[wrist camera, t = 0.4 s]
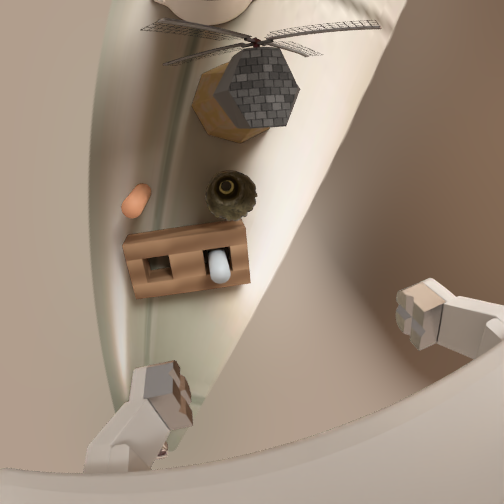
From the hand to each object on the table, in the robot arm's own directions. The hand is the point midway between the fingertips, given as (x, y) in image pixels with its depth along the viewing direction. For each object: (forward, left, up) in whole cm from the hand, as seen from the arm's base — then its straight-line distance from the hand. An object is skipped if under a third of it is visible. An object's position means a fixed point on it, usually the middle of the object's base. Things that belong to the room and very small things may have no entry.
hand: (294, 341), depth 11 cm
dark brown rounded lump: (+4, +2, -45) cm, 45 cm away
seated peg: (+15, -1, -44) cm, 47 cm away
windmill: (-10, +5, -45) cm, 46 cm away
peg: (+3, -12, -44) cm, 46 cm away
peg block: (+15, -6, -44) cm, 47 cm away
